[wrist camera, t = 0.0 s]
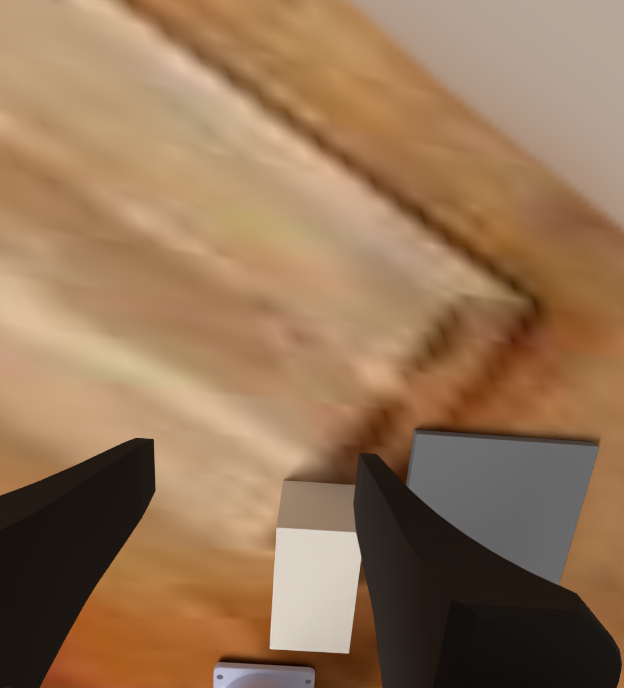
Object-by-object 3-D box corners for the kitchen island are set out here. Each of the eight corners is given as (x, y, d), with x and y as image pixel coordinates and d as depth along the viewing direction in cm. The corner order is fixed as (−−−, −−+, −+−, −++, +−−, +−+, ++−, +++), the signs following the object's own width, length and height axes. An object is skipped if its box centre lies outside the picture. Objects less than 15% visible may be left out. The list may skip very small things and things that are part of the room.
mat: (526, 667, 27) (531, 675, 26) (378, 658, 27) (380, 667, 26) (591, 441, 22) (599, 446, 22) (414, 429, 22) (417, 434, 22)
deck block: (342, 586, 26) (348, 653, 21) (276, 583, 25) (269, 648, 21) (354, 483, 24) (364, 533, 19) (283, 478, 23) (276, 527, 19)
